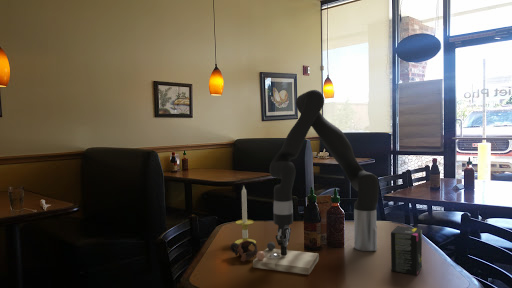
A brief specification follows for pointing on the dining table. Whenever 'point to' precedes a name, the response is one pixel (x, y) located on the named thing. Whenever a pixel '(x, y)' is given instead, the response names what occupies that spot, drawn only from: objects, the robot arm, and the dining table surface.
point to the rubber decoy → (271, 246)
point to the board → (288, 261)
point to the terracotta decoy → (260, 255)
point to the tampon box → (406, 250)
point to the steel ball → (274, 255)
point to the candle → (244, 220)
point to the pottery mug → (244, 250)
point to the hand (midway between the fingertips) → (284, 254)
